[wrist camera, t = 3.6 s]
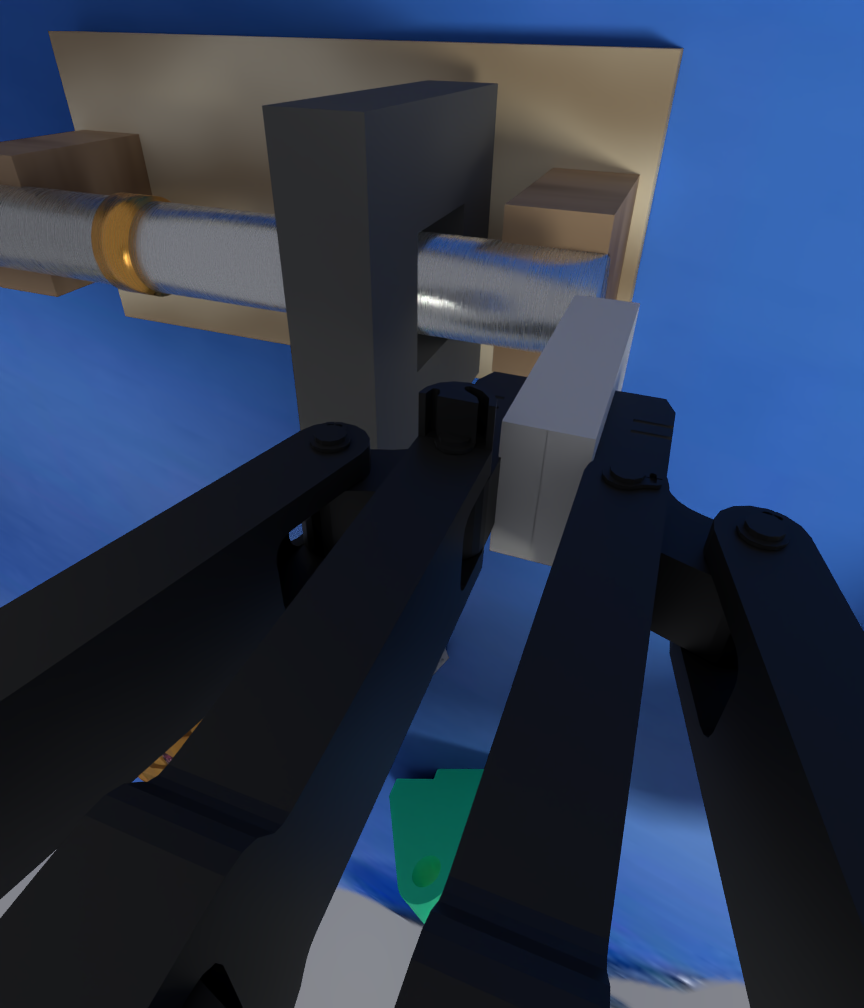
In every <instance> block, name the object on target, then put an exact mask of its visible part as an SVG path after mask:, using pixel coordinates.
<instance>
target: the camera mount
mask: <svg viewBox="0 0 864 1008" xmlns="http://www.w3.org/2000/svg"><path fill="white" fill-rule="evenodd" d="M483 771H484V769H437V772H436V774H435V777H434V779H396V782H395V784H394V786H393V788H392V791H391V793H390V795H389V798H390V808H391V819H392V829H393V840H394V850H395V861H396V871H397V882H398V889H399V893H400V895H401V896H402V898H403V899H404V900H405V901H406V903H407V904H408V905H409V906H410V907H411V909H412V910H413V911H414V912H415V913H416V915H417V916H418V917H419V918H420V919H421V921H422V922H423V923H424V924H425V922H426V920H427V918H428V915H429V913H430V911H431V909H432V908H433V907H434V906H435V904H436V903H437V902H438V901H439V899H440V896H441V894H442V892H443V890H444V887H445V884H446V881H447V878H448V876H449V873H450V870H451V867H452V864H453V861H454V858H455V855H456V852H457V849H458V846H459V843H460V840H461V837H462V834H463V831H464V828H465V825H466V822H467V819H468V816H469V813H470V810H471V807H472V804H473V801H474V798H475V795H476V792H477V789H478V786H479V783H480V780H481V777H482V774H483Z"/></svg>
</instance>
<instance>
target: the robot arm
mask: <svg viewBox="0 0 864 1008" xmlns="http://www.w3.org/2000/svg"><path fill="white" fill-rule="evenodd" d="M639 306H640V303H634V302H627V301H619V300H612V299H605V298H597V297H590V296H583V295H575V296H574V298H573V300H572V301H571V303H570V305H569V306H568V308H567V310H566V312H565V313H564V315H563V317H562V319H561V320H560V322H559V324H558V325H557V327H556V329H555V331H554V332H553V334H552V336H551V337H550V339H549V341H548V343H547V344H546V346H545V348H544V350H543V351H542V353H541V355H540V356H539V358H538V360H537V362H536V363H535V365H534V367H533V368H532V370H531V372H530V374H529V375H528V377H524V376H518V375H513V374H507V373H501V372H495V371H494V372H492V373H490V374H488V375H486V376H484V377H482V378H480V379H478V380H477V382H476V383H475V384H472V383H468V382H457V381H451V382H440V383H436V384H433V385H430V386H427V387H425V388H424V389H422V390H421V391H420V392H419V411H418V437H417V438H416V439H415V441H414V442H413V443H412V444H411V446H410V447H409V448H408V449H397V450H387V449H370V438H369V436H368V435H367V433H366V431H364V430H363V429H361V428H359V427H357V426H355V425H351V424H347V423H343V422H326V423H322V424H316V425H313V426H310V427H308V428H305V429H303V430H301V431H299V432H298V433H296V434H294V435H293V436H291V437H289V438H288V439H286V440H284V441H282V442H281V443H279V444H277V445H276V446H274V447H272V448H271V449H269V450H267V451H265V452H264V453H262V454H260V455H259V456H257V457H255V458H254V459H252V460H250V461H249V462H247V463H245V464H243V465H242V466H240V467H238V468H237V469H235V470H233V471H232V472H230V473H228V474H226V475H225V476H223V477H221V478H220V479H218V480H216V481H215V482H213V483H211V484H210V485H208V486H206V487H204V488H203V489H201V490H199V491H198V492H196V493H194V494H193V495H191V496H189V497H187V498H186V499H184V500H182V501H181V502H179V503H177V504H176V505H174V506H172V507H171V508H169V509H167V510H165V511H164V512H162V513H160V514H159V515H157V516H155V517H154V518H152V519H150V520H148V521H147V522H145V523H143V524H142V525H140V526H138V527H137V528H135V529H133V530H132V531H130V532H128V533H126V534H125V535H123V536H121V537H120V538H118V539H116V540H115V541H113V542H111V543H109V544H108V545H106V546H104V547H103V548H101V549H99V550H98V551H96V552H94V553H93V554H91V555H89V556H87V557H86V558H84V559H82V560H81V561H79V562H77V563H76V564H74V565H72V566H71V567H69V568H67V569H65V570H64V571H62V572H60V573H59V574H57V575H55V576H54V577H52V578H50V579H48V580H47V581H45V582H43V583H42V584H40V585H38V586H37V587H35V588H33V589H32V590H30V591H28V592H26V593H25V594H23V595H21V596H20V597H18V598H16V599H15V600H13V601H11V602H9V603H8V604H6V605H4V606H3V607H1V608H0V899H1V898H2V897H3V896H5V895H6V894H7V893H8V892H9V891H10V890H11V889H12V888H13V887H15V886H16V885H17V884H18V883H19V882H20V881H21V880H23V879H24V878H25V877H26V876H27V875H28V874H29V873H30V872H31V871H33V870H34V869H35V868H36V867H37V866H38V865H39V864H40V863H42V862H43V861H44V860H45V859H46V858H47V857H48V856H49V855H50V854H52V853H53V852H54V851H55V850H56V849H57V850H56V851H55V852H54V854H53V855H52V856H51V857H50V858H49V860H48V861H47V862H46V863H45V864H44V866H43V867H42V868H41V869H40V870H39V872H38V873H37V874H36V875H35V877H34V878H33V879H32V880H31V881H30V883H29V884H28V885H27V886H26V888H25V889H24V890H23V891H22V893H21V894H20V895H19V896H18V897H17V899H16V900H15V901H14V902H13V904H12V905H11V906H10V907H9V909H8V910H7V911H6V912H5V913H4V914H3V916H2V917H1V918H0V1008H294V1006H295V1003H296V1000H297V997H298V993H299V990H300V987H301V982H302V977H303V972H304V968H305V963H306V959H307V956H308V953H309V949H310V946H311V944H312V941H313V939H314V936H315V934H316V931H317V929H318V927H319V925H320V923H321V920H322V918H323V916H324V914H325V912H326V909H327V907H328V905H329V903H330V901H331V898H332V896H333V894H334V892H335V890H336V887H337V885H338V883H339V881H340V879H341V876H342V874H343V872H344V870H345V868H346V865H347V863H348V861H349V859H350V857H351V854H352V852H353V850H354V848H355V846H356V843H357V841H358V839H359V837H360V835H361V832H362V830H363V828H364V826H365V824H366V821H367V819H368V817H369V815H370V813H371V810H372V808H373V806H374V804H375V802H376V799H377V797H378V795H379V793H380V791H381V788H382V786H383V784H384V782H385V780H386V777H387V775H388V773H389V771H390V769H391V766H392V764H393V762H394V760H395V758H396V755H397V753H398V751H399V749H400V747H401V744H402V742H403V740H404V738H405V736H406V733H407V731H408V729H409V727H410V725H411V722H412V720H413V718H414V716H415V714H416V711H417V709H418V707H419V705H420V703H421V700H422V698H423V696H424V694H425V692H426V689H427V687H428V685H429V683H430V681H431V678H432V676H433V674H434V672H435V670H436V667H437V665H438V663H439V661H440V659H441V656H442V654H443V652H444V650H445V648H446V645H447V643H448V641H449V639H450V637H451V634H452V632H453V630H454V628H455V626H456V623H457V621H458V619H459V617H460V615H461V612H462V610H463V608H464V606H465V604H466V601H467V599H468V597H469V595H470V593H471V590H472V588H473V586H474V584H475V582H476V579H477V577H478V575H479V573H480V571H481V568H482V562H483V552H484V545H485V543H486V541H487V539H488V536H489V534H490V532H491V539H490V551H494V552H498V553H502V554H506V555H510V556H514V557H518V558H522V559H526V560H530V561H534V562H537V563H541V564H545V565H549V566H552V567H551V570H550V573H549V576H548V579H547V582H546V585H545V588H544V591H543V594H542V597H541V600H540V603H539V606H538V609H537V612H536V615H535V618H534V621H533V624H532V627H531V630H530V633H529V636H528V639H527V642H526V645H525V648H524V651H523V654H522V657H521V660H520V663H519V666H518V669H517V672H516V675H515V678H514V681H513V684H512V687H511V690H510V693H509V696H508V699H507V702H506V705H505V708H504V711H503V714H502V717H501V720H500V723H499V726H498V729H497V732H496V735H495V738H494V741H493V744H492V747H491V750H490V753H489V756H488V759H487V762H486V765H485V768H484V771H483V774H482V777H481V780H480V783H479V786H478V789H477V792H476V795H475V798H474V801H473V804H472V807H471V810H470V813H469V816H468V819H467V822H466V825H465V828H464V831H463V834H462V837H461V840H460V843H459V846H458V849H457V852H456V855H455V858H454V861H453V864H452V867H451V870H450V873H449V876H448V878H447V881H446V884H445V887H444V890H443V892H442V894H441V896H440V899H439V901H438V902H437V903H436V904H435V906H434V907H433V908H432V909H431V911H430V913H429V915H428V918H427V920H426V922H425V924H424V926H423V929H422V931H421V934H420V937H419V939H418V942H417V945H416V948H415V950H414V953H413V955H412V958H411V961H410V964H409V967H408V970H407V973H406V976H405V979H404V981H403V985H402V987H401V990H400V993H399V996H398V999H397V1002H396V1005H395V1008H610V983H609V978H608V974H607V954H608V944H609V936H610V928H611V921H612V913H613V906H614V899H615V891H616V884H617V876H618V869H619V861H620V854H621V846H622V839H623V831H624V824H625V816H626V809H627V801H628V794H629V786H630V779H631V771H632V764H633V756H634V749H635V742H636V734H637V727H638V719H639V712H640V704H641V697H642V689H643V682H644V674H645V667H646V659H647V652H648V644H649V637H650V630H651V631H653V632H654V633H656V634H658V635H660V636H662V637H664V638H666V639H668V640H669V641H670V657H671V662H672V666H673V670H674V675H675V679H676V683H677V688H678V692H679V697H680V701H681V705H682V710H683V714H684V719H685V723H686V727H687V732H688V736H689V740H690V745H691V749H692V754H693V758H694V762H695V767H696V771H697V776H698V780H699V784H700V789H701V793H702V798H703V802H704V806H705V811H706V815H707V819H708V824H709V828H710V833H711V837H712V841H713V846H714V850H715V855H716V859H717V863H718V868H719V872H720V877H721V881H722V885H723V890H724V894H725V898H726V903H727V907H728V912H729V916H730V920H731V925H732V929H733V934H734V938H735V942H736V947H737V951H738V955H739V960H740V964H741V969H742V973H743V977H744V982H745V986H746V991H747V995H748V999H749V1003H750V1008H864V631H863V630H862V628H861V626H860V624H859V622H858V621H857V619H856V617H855V615H854V613H853V612H852V610H851V608H850V606H849V604H848V603H847V601H846V599H845V597H844V596H843V594H842V592H841V590H840V588H839V587H838V585H837V583H836V581H835V579H834V578H833V576H832V574H831V572H830V570H829V569H828V567H827V565H826V563H825V561H824V560H823V558H822V556H821V554H820V552H819V551H818V549H817V547H816V545H815V543H814V542H813V540H812V538H811V537H810V536H809V534H808V533H807V532H806V531H805V530H804V529H803V528H802V526H800V525H799V524H797V523H796V522H794V521H793V520H791V519H790V518H788V517H786V516H784V515H782V514H780V513H778V512H774V511H772V510H769V509H766V508H759V507H753V506H733V507H730V508H727V509H724V510H721V511H720V512H719V513H718V514H717V516H716V517H715V518H714V520H713V519H711V518H709V517H706V516H704V515H701V514H699V513H697V512H695V511H693V510H691V509H689V508H687V507H686V506H685V505H683V504H682V503H680V502H679V501H678V500H677V499H676V498H675V497H674V496H673V495H672V494H671V493H670V491H669V483H668V479H667V471H668V463H669V456H670V449H671V442H672V434H673V427H674V420H675V412H674V410H673V409H672V407H671V406H670V404H669V403H668V401H667V400H666V399H662V398H656V397H650V396H644V395H639V394H633V393H627V392H621V389H622V385H623V380H624V376H625V371H626V366H627V362H628V357H629V352H630V348H631V343H632V339H633V334H634V329H635V325H636V320H637V315H638V311H639ZM301 523H302V529H303V534H302V535H301V536H299V537H298V538H297V539H295V540H293V541H290V539H289V532H290V531H291V530H293V529H294V528H295V527H297V526H298V525H299V524H301ZM200 721H201V722H200ZM199 722H200V723H199ZM198 723H199V724H198ZM196 724H198V726H197V727H196V728H195V730H194V731H193V732H192V734H191V735H190V736H189V738H188V739H187V740H186V742H185V743H184V744H183V745H182V747H181V748H180V749H179V751H178V752H177V753H176V755H175V756H174V757H173V759H172V760H171V761H170V763H169V764H168V765H167V766H166V767H165V768H164V769H163V770H162V771H161V773H160V774H159V775H157V776H156V777H154V778H153V779H151V780H149V781H147V782H134V783H131V782H132V781H134V780H135V779H136V778H137V777H138V776H139V775H140V774H141V773H143V772H144V771H145V770H146V769H147V768H148V767H149V766H150V765H152V764H153V763H154V762H155V761H156V760H157V759H158V758H159V757H161V756H162V755H163V754H164V753H165V752H166V751H167V750H168V749H169V748H171V747H172V746H173V745H174V744H175V743H176V742H177V741H178V740H180V739H181V738H182V737H183V736H184V735H185V734H186V733H187V732H189V731H190V730H191V729H192V728H193V727H194V726H195V725H196Z"/></svg>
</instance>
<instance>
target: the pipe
mask: <svg viewBox="0 0 864 1008" xmlns="http://www.w3.org/2000/svg"><path fill="white" fill-rule="evenodd" d="M0 267H5V268H11V269H17V270H24V271H30V272H36V273H42V274H49V275H55V276H61V277H67V278H73V279H80V280H86V281H92V282H98V283H105V284H111V285H113V286H115V287H116V288H118V289H120V290H123V291H128V292H134V293H140V294H146V295H152V296H158V297H164V296H169V295H171V294H173V295H179V296H186V297H192V298H198V299H204V300H210V301H217V302H223V303H229V304H235V305H242V306H248V307H254V308H260V309H267V310H273V311H279V312H285V313H287V312H286V304H285V296H284V287H283V279H282V270H281V262H280V254H279V245H278V237H277V228H276V220H275V214H267V213H258V212H249V211H241V210H232V209H223V208H214V207H206V206H197V205H188V204H179V203H172V202H170V201H169V200H167V199H165V198H163V197H159V196H151V195H142V194H133V193H122V192H120V193H115V194H112V195H110V196H109V195H100V194H92V193H83V192H74V191H65V190H56V189H48V188H39V187H29V186H25V187H18V186H9V185H0ZM609 268H610V257H609V256H608V254H601V253H593V252H584V251H575V250H566V249H558V248H549V247H540V246H532V245H523V244H514V243H505V242H502V240H495V239H486V238H478V237H469V236H460V235H451V234H442V233H434V232H425V231H421V232H419V233H418V306H417V334H422V335H428V336H435V337H441V338H447V339H453V340H460V341H466V342H472V343H478V344H485V345H491V346H497V347H503V348H509V349H516V350H522V351H528V352H534V353H542V351H543V350H544V348H545V346H546V344H547V343H548V341H549V339H550V337H551V336H552V334H553V332H554V331H555V329H556V327H557V325H558V324H559V322H560V320H561V319H562V317H563V315H564V313H565V312H566V310H567V308H568V306H569V305H570V303H571V301H572V300H573V298H574V296H575V295H583V296H590V297H597V298H605V294H606V289H607V283H608V276H609Z"/></svg>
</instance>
